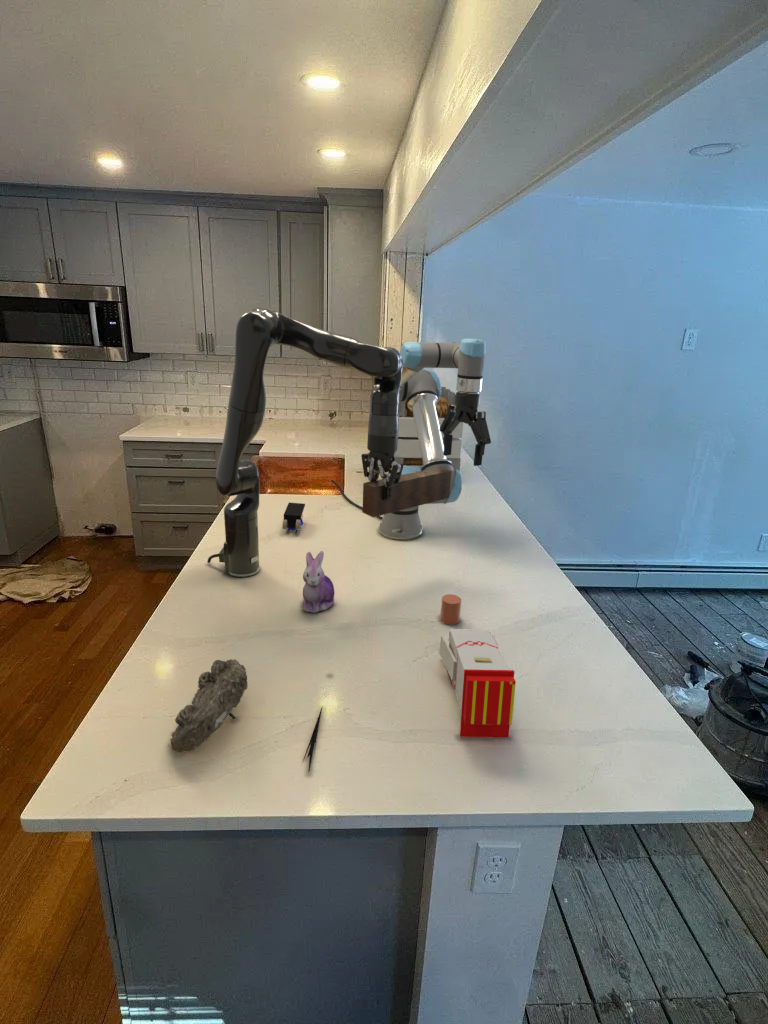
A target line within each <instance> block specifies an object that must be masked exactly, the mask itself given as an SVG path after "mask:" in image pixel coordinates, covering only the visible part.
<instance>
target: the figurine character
mask: <svg viewBox="0 0 768 1024" xmlns="http://www.w3.org/2000/svg"><path fill="white" fill-rule="evenodd" d="M305 507H306V503H301V502H288V504H287V506H286V507H285V510H284V513H283V520H282V530H284V531H285V530H286V534H287V535H288V534H290V531H293V532H294V534H295V535H296V534H298V530H299V531H300V530H301V528H302V526H303V525H304V524H305V523H304V520H303V519H304V515H303V513H304V510H305Z"/></svg>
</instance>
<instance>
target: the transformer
mask: <svg viewBox="0 0 768 1024" xmlns="http://www.w3.org/2000/svg"><path fill="white" fill-rule="evenodd" d="M455 397H456V392H454V391H451V389H450V388H446V386H441V396H440V398H439V400H438V402H437V404H436V405H435V408H436V412H437V417H438V421H439V426H440V427H441V425H442V423H443V420H444V418H445V416H446V414H447V412H448V407H449V405H454V404H455ZM455 415H456V413H455ZM455 415H454V417H455ZM454 417H453V418H454ZM398 419H399V430H398V448H397V451H396V452H395V454H394V456H395V461H396V462H397V463H398V464H403V466H416V467H422V466H423V460H422V455H421V450H420V445H419V440H418V435H417V430H416V425H415V420H414V415H413V411H412V410H410V409H409V408H408V406H407V402H400V401H399V411H398ZM452 420H453V419H452ZM451 422H452V421H451ZM463 431H464V422H460V423H459V424H458V425H457V427H456V428H455V429H454V430H453V432H452V434H450V435H453V438H452V449H451V455H446V458H447V460H449V461H450V462H452V465H453V469H457V470H459V471H460V470H461V462H462V458H461V452H462V443H463V442H462V438H463ZM441 435H442V440H444V434H443V432H441ZM460 472H461V471H460Z"/></svg>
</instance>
